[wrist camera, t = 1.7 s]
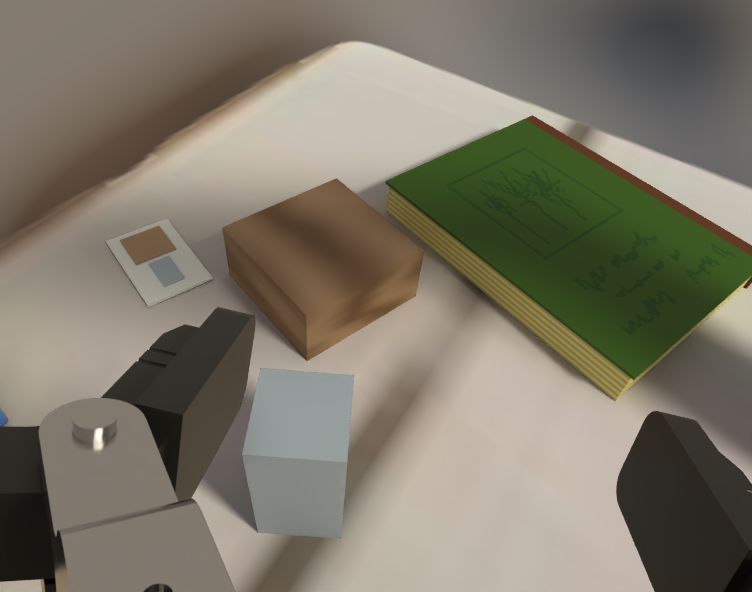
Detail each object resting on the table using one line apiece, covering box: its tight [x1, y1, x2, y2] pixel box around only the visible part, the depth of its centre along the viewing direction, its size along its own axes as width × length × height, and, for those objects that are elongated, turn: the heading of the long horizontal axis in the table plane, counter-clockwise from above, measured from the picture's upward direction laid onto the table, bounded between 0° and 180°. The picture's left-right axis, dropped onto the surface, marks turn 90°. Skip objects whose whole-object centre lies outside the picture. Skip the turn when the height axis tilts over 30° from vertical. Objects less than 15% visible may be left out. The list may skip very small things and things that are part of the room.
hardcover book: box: [386, 115, 752, 401], centre depth 48 cm, size 25×19×4 cm
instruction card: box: [106, 218, 213, 307], centre depth 45 cm, size 5×8×1 cm, turn 38°
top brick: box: [242, 368, 354, 539], centre depth 30 cm, size 4×4×9 cm
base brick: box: [223, 178, 424, 361], centre depth 43 cm, size 10×10×5 cm
